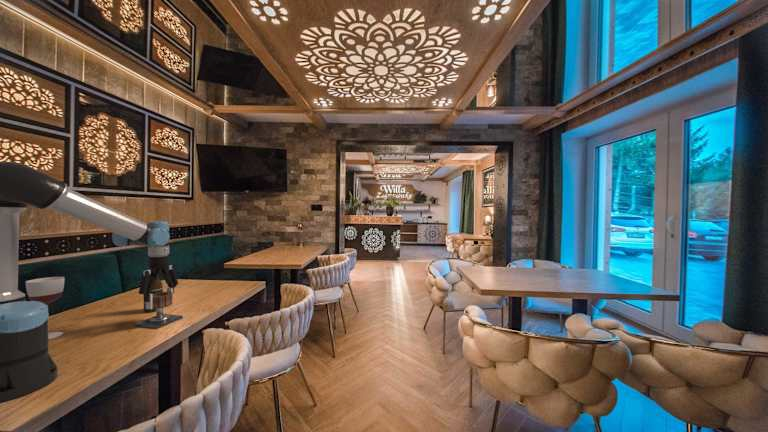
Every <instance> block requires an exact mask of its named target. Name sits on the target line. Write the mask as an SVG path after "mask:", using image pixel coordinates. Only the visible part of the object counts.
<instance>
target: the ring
mask: <svg viewBox="0 0 768 432" xmlns="http://www.w3.org/2000/svg"><path fill="white" fill-rule="evenodd" d="M152 301H153V309H159V308H163V309H164V308H167V307H169V306H172V305H174V303H173V302H174V294H173V293H172V292H167V291H163V292H158V293H153V294H152Z"/></svg>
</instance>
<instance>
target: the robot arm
mask: <svg viewBox="0 0 768 432" xmlns="http://www.w3.org/2000/svg"><path fill="white" fill-rule="evenodd" d="M28 206H32V207H35V208H36V209H39V210H47V209H48V210H49V209H50V210H53V211H55V212H57V213H60V214H63V215H66V216H68V217H71V218H74V219H76V220H78V221H82V222H84V223H86V224H90V225H92V226H95V227H97V228H100V229H102V230H105V231H108V232H110V233H112V237H111V238H112V239H111V240H112V242H113V244H114V245H115V246H117V247H128V246H129V247H130V246H135V247H136V246H139V247H147V256H148V257H147V259H148V260H147V261H148V263H147V264H148V265H149V266H150V268H149V266H148V269H147V270H142V271H141V281H140V285H139V290H138V294H139V295H143V303H144V302H146V309H153V301H152V294H150V293H151V291H152V288H153V286H154V284H155V281H156V279H159V277H162V278H163V280H164V282H165V284H166V285H167V286H168V287H166V292H172V293H173V295H174V294H175V288H177V285H179V280H178V277H177V272H176V265H175V264H173V265H172V264H170V259H171V258H170V255H169V254H170V238H171V236H170V225H169V222H168V221H163V220H162V221H158V220H157V221H148V222H147V223H146V222H145V221H144V222H143V221H141V220H139V219H137V218H135V217H133V216H130V215H128V214H125V212H122V211H119V210H117V209H115V208H112V206H111V207H110V206H108V205H106V204H104V203H102V202H100V201H97V200H95V199H93V198H91V197H88V196H86V195H84V194H82V193H80V192H77V191H75V190H73V189H71V188H68V184H67V183H65V182H64V181H62V180H59V179H57V178H55V177H53V176H51V175H48V174H47V173H45V172H43V171H40V170H38V169H36V168H34V167H31V166H28V165H26V164H22V163H21V162H20V163H19V162H14V161H0V403H1V402H2V403H3V402H7V401H10V400H14V399H17V398H20V397H23V396H26V395H28V394H29V395H30V394H31V393H34V392H36V391H38V390H40V389H42V388H44V387H47V386H48V385H49V384H51V383H53V382H54V381H55V380H56V379H58V377H59V373H58V372H59V370H58V369H59V368H58V366H57V364H56V363H55V361H54V359H53V358H52V356H51V354H50V353H49V339H48V330H49V316H50V314H49V310H48V311H47V306H46V305H45V304H44V303H42V302H38V301H31V300H29V301H27V300H26V293H24V292H22V291H21V290H19V289H18V288H19V287H18V286H19V257H20V256H19V250H20V249H19V248H20V247H19V246H20V245H19V244H20V242H19V240H20V214H22V212H25V211H26V210H27V209H28ZM150 273H151V274H150ZM149 275H150V276H149ZM153 276H154V277H153ZM147 291H148V292H147Z"/></svg>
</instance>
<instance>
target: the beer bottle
mask: <svg viewBox="0 0 768 432" xmlns="http://www.w3.org/2000/svg"><path fill="white" fill-rule="evenodd" d="M149 268H150V266H149V264H148V269H149ZM150 274H151V273H150ZM149 276H150V275H149ZM153 277H154V276H153ZM163 287H164V286H163V283H162V281H161V279H160V278H158V279H156V281H155V284H154V286H153V288H152V291H151V293H150V294H153V293H158V292H164V288H163ZM147 292H148V291H147ZM143 311H144V312H145V313H146V314H148V313H156V309H146V302H144V301H143Z"/></svg>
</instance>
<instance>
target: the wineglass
mask: <svg viewBox="0 0 768 432" xmlns="http://www.w3.org/2000/svg"><path fill="white" fill-rule="evenodd" d="M65 280H66V279H65V276H50V277H41V278H35V279H30V280H25V288H26V289H25V290H26V294H27V297H28V299H29V301H38V302H42V303H44V304H45V305H46V306H47V311H48V312H49V304H51V303H52V302H56V301H57V300H58V299H59V298H61V296H62V295H63V293H64V289H65ZM63 334H64V332H62V331H55V332H54V331H53V332H49V329H48V340H51V339H54V338H57V337H59V336H62V335H63Z"/></svg>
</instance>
